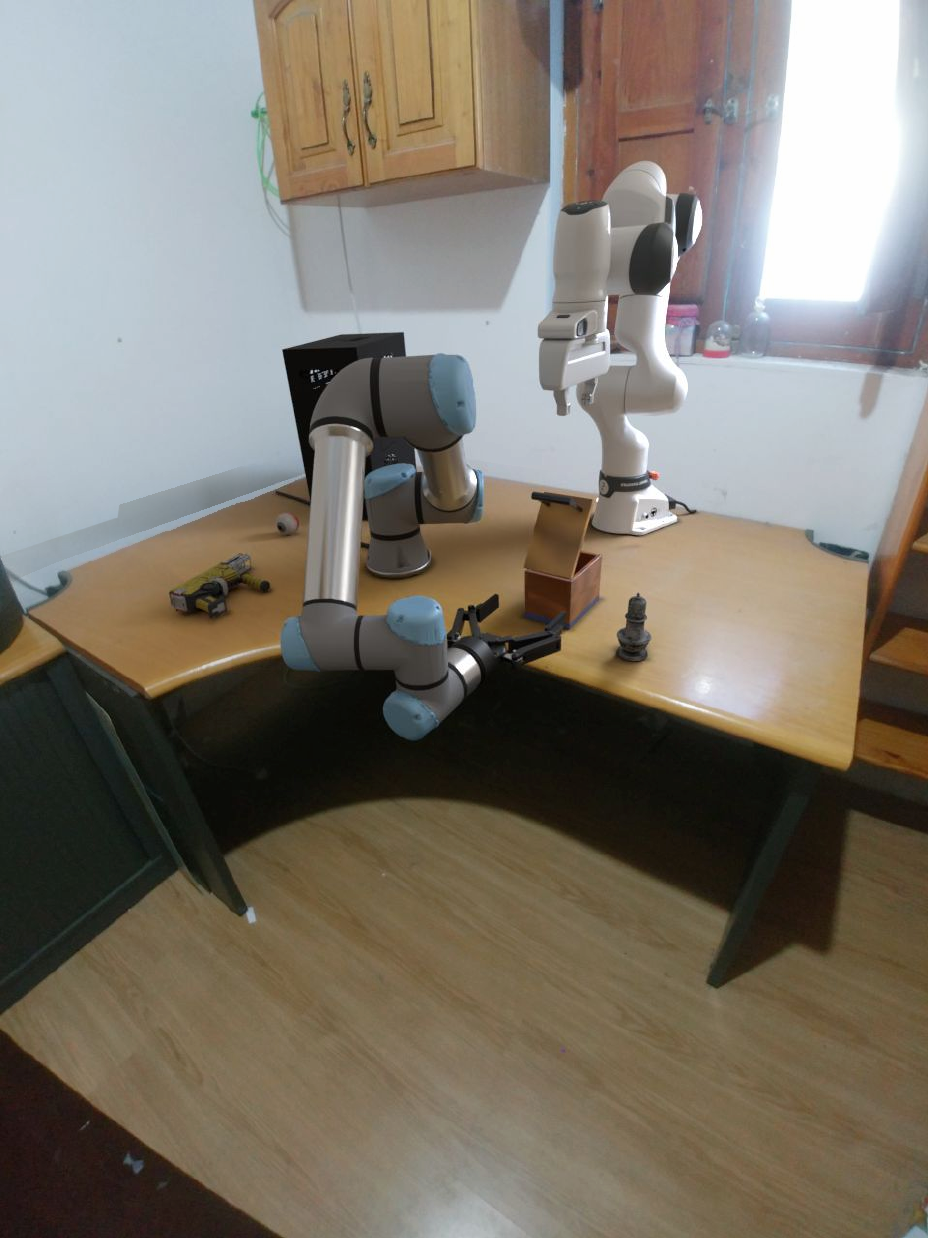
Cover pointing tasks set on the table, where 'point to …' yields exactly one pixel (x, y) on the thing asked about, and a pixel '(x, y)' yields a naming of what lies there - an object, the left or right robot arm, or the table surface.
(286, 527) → the eyeball
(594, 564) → the chest
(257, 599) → the table surface
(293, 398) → the black computer case
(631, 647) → the grey chess piece
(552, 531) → the lid
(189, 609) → the toy gun
